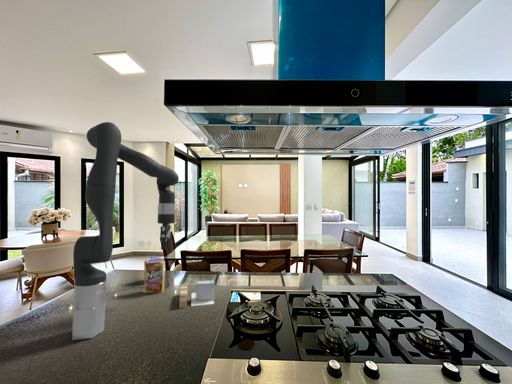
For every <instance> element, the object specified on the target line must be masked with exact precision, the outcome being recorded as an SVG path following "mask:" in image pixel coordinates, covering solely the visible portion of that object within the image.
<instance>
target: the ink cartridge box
mask: <svg viewBox="0 0 512 384" xmlns="http://www.w3.org/2000/svg"><path fill="white" fill-rule="evenodd" d="M147 261H165V259H164V258H161V257H157V255H156V254H155V255H150V259H149V260H144V264H143V265H144V275H143V276H144V279H143V281H144V283H145V263H146V262H147Z"/></svg>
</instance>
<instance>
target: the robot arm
mask: <svg viewBox="0 0 512 384" xmlns="http://www.w3.org/2000/svg"><path fill="white" fill-rule="evenodd" d="M86 140H87V142H88V143H89V144H90V146H92V147H93V148H94V149H96V152H95V158H94V162H93V164H92V166H91V169H90V171H89V173H88V177H87V180H86V183H85V194H84V199H85V203H86V204H87V206H88V208H89V210H90V211H91V213H92V214H93V216H94V217H95V219H96V221H97V225H98V229H99V235H92V236H91V235H89V236H88V235H87V236H80V237H79V238H77V239H76V241H75V243H74V246H73V256H72V257H73V259H72V260H73V261H72V262H73V278H74V279H73V280H74V285H73V286H74V288H73V291H74V292H73V307H72V309H73V311H72V327H71V336H72V337H71V340H72V341H77V340H85V339H93V338H95V337H96V336H98V335H100V334H101V333H102V332H104V330H105V312H106V293H107V292H106V291H107V290H106V288H107V273H106V272H105V271H104V270H102V269H98V268H96V267H94V266H93V265H92V263H93V264H96V263H98V264H99V263H100V264H101V263H107V262H108V261H110V259H111V257H112V254H113V249H114V247H113V246H114V240H113V239H114V229H113V228H114V226H113V225H114V223H113V222H114V209H115V208H114V207H115V200H116V199H115V198H116V187H117V186H116V184H117V171H118V170H117V169H118V160H121V161H123V162H125V163H127V164H129V165H131V166H133V168H136V169H138V170H139V171H140V172H141V173H144V174H146V175H147V176H149V177H151V178H156V186H157V187H156V188H157V191H158V192H157V193H158V195H159V196H158V207H157V224H162V226H160V235H159V240H160V241H161V243H160V250H162V251H163V250H164V251H165V250H167V248H169V247H170V239H171V235H172V234H171V229H172V227H171V226H172V225H170V224H175V219H176V218H175V216H176V215H175V214H176V205H175V198H176V195H175V192H174V191H172V190H171V187H172V186H176V185H177V184H178V183H179V175H178V173H177V172H176V171H175V170H173V169H172V168H169V167H168V166H166V165H163V164H160V163H159V162H157V160H155V159H153V158H152V157H150V156H149V155H147V154H145V153H143V152H140V151H137V150H134V149H132V148H130V147H128V146H126V145H124V144H122V133H121V130H120V128H119V127H118V126H117V125H116V124H115V123H114V122H113V123H112V122H110V121H106V122H101V123H98V124H96V125H95V126H92V127H91V128H90V129H88V130H87V132H86ZM99 333H100V334H99Z"/></svg>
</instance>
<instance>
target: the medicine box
mask: <svg viewBox="0 0 512 384" xmlns="http://www.w3.org/2000/svg"><path fill="white" fill-rule="evenodd" d="M195 284H196V285H195V293H196V301H204V300H215V298H216V291H215V290H216V281H215V280H197V281H196V283H195Z"/></svg>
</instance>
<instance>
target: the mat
mask: <svg viewBox="0 0 512 384" xmlns="http://www.w3.org/2000/svg"><path fill="white" fill-rule="evenodd" d="M190 297H191V300H190V301H191V302H190V303H191V304H190V305H191V307H192V308H193V307H202V306H204V307H205V306H214V305H215V301H214V300H215V299H214V300H204V301H196V292H191V296H190Z"/></svg>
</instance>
